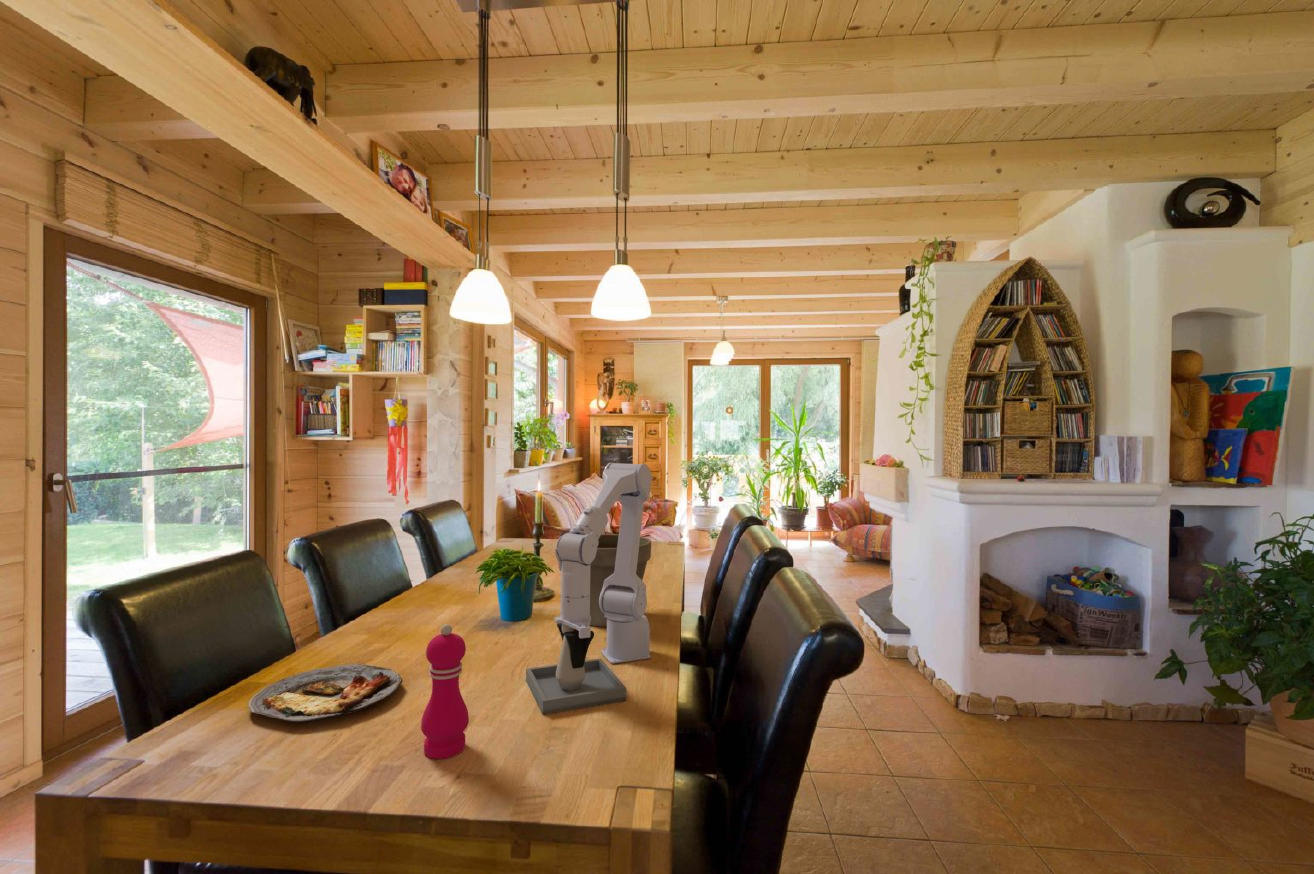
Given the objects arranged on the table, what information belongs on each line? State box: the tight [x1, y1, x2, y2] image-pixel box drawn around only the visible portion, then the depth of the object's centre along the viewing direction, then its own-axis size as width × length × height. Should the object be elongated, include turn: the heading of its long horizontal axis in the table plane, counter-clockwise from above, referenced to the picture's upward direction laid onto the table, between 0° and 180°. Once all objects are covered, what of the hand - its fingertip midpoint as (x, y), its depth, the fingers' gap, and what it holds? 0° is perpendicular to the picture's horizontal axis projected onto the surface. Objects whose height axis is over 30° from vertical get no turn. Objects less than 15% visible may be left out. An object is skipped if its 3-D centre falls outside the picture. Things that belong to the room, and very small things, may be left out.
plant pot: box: [590, 533, 652, 627], centre depth 166 cm, size 25×25×22 cm
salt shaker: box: [556, 624, 585, 691], centre depth 119 cm, size 6×6×13 cm
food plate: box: [248, 663, 403, 723], centre depth 114 cm, size 25×23×4 cm
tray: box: [525, 657, 627, 716], centre depth 119 cm, size 16×16×2 cm
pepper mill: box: [420, 623, 470, 760], centre depth 97 cm, size 7×7×20 cm
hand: (574, 663), depth 119 cm, fingers open, 4 cm apart
